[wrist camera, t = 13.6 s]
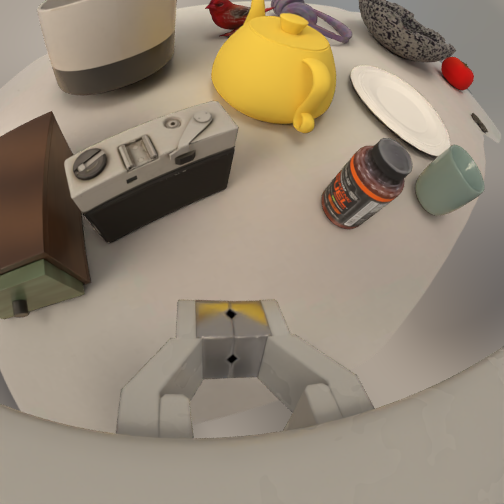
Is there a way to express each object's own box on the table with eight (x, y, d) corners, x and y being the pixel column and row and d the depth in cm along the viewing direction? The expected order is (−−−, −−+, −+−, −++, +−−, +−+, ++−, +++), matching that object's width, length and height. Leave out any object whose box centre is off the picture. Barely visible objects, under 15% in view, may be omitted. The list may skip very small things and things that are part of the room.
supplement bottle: (311, 189, 31) (358, 127, 20) (350, 184, 33) (400, 129, 22) (331, 235, 30) (391, 184, 19) (369, 226, 31) (430, 180, 21)
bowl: (399, 39, 65) (416, 13, 51) (446, 92, 56) (471, 64, 42) (329, 13, 57) (344, -21, 43) (375, 62, 48) (402, 20, 34)
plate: (324, 64, 42) (327, 57, 40) (402, 78, 49) (405, 74, 47) (395, 164, 36) (402, 157, 34) (460, 160, 43) (466, 155, 41)
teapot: (192, 53, 36) (199, -13, 24) (284, 50, 41) (304, -6, 29) (236, 155, 31) (262, 59, 18) (352, 141, 35) (401, 76, 23)
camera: (196, 139, 30) (200, 73, 21) (228, 190, 29) (244, 126, 20) (87, 186, 26) (56, 127, 17) (108, 247, 24) (69, 199, 15)
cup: (400, 181, 35) (442, 144, 26) (425, 175, 37) (463, 143, 28) (425, 228, 33) (473, 198, 24) (447, 216, 36) (490, 189, 26)
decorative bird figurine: (196, 39, 38) (201, -4, 29) (264, 26, 44) (274, -9, 35) (205, 44, 38) (211, 0, 29) (273, 31, 44) (284, -5, 35)
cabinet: (91, 282, 23) (44, 252, 14) (4, 310, 20) (-52, 293, 11) (79, 165, 26) (52, 110, 17) (2, 199, 23) (-35, 159, 14)
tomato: (465, 100, 60) (482, 82, 49) (438, 77, 59) (455, 57, 48) (458, 86, 64) (473, 68, 54) (433, 65, 64) (447, 46, 53)
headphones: (279, 33, 43) (352, 60, 50) (295, 5, 35) (369, 38, 43) (262, 7, 48) (326, 28, 55) (274, -16, 41) (340, 9, 48)
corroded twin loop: (485, 135, 54) (487, 133, 53) (469, 115, 55) (471, 113, 54) (486, 132, 56) (488, 130, 55) (471, 113, 57) (473, 111, 56)
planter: (156, 37, 37) (158, -38, 21) (191, 82, 34) (202, -23, 17) (61, 70, 31) (43, -4, 15) (66, 129, 28) (28, 26, 11)
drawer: (87, 306, 21) (47, 291, 14) (6, 330, 18) (-41, 321, 11) (72, 177, 25) (47, 134, 18) (0, 209, 22) (-33, 178, 14)
